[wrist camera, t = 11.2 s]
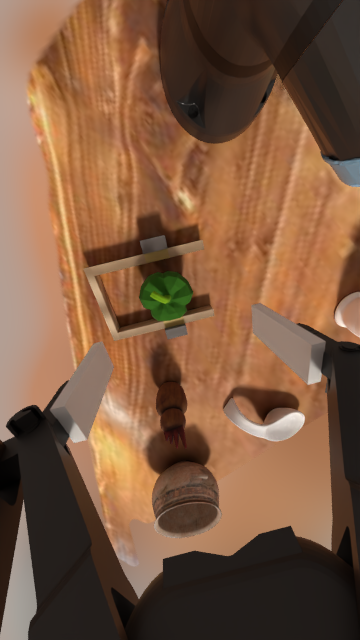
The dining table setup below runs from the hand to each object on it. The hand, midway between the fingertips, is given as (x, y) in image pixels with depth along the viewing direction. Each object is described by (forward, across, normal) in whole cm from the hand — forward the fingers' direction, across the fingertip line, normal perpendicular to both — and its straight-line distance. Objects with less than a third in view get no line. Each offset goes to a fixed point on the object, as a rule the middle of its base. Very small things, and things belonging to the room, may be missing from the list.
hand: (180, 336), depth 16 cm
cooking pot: (+21, -10, -57) cm, 62 cm away
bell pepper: (+21, -1, 0) cm, 21 cm away
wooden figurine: (+21, -6, -24) cm, 33 cm away
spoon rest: (+21, +17, -42) cm, 50 cm away
